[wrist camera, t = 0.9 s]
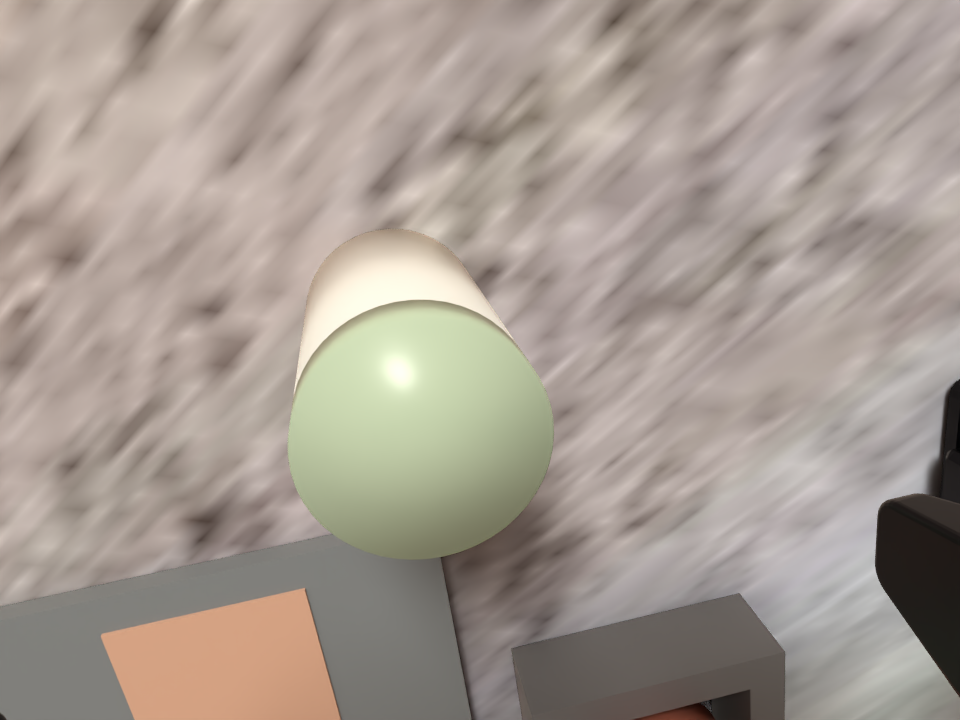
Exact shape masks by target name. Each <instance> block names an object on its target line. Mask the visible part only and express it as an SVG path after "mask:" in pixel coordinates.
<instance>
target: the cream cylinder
mask: <svg viewBox="0 0 960 720" xmlns="http://www.w3.org/2000/svg"><path fill="white" fill-rule="evenodd" d="M553 438H554V426H553V416H552V411H551V405H550V402H549V399H548V396H547V393H546V390H545V388H544V386H543V384H542V382H541V380H540V378H539V377H538V375H537V373H536V372H535V370H534V369H533V367H532V366H531V365H530V363H529V362H528V360H527V359H526V357H525V356H524V354H523V353H522V351H521V350H520V348H519V347H518V345H517V344H516V342H515V341H514V339H513V338H512V336H511V335H510V333H509V332H508V331H507V329H506V328H505V326H504V325H503V323H502V322H501V320H500V319H499V317H498V316H497V314H496V313H495V311H494V310H493V308H492V307H491V305H490V304H489V302H488V301H487V299H486V298H485V297H484V295H483V294H482V292H481V291H480V289H479V288H478V286H477V285H476V283H475V282H474V280H473V279H472V277H471V276H470V274H469V273H468V271H467V270H466V268H465V267H464V266H463V264H462V263H461V261H460V260H459V259H458V258H457V257H456V256H455V255H454V254H453V252H452V251H450V250H449V249H448V248H447V247H445V246H444V245H443V244H441V243H440V242H438V241H436V240H435V239H433V238H431V237H429V236H426V235H424V234H421V233H418V232H414V231H410V230H404V229H382V230H375V231H371V232H367V233H364V234H361V235H359V236H356V237H354V238H352V239H350V240H349V241H347V242H345V243H343V244H342V245H341V246H339V247H338V248H337V249H335V250H334V251H333V252H332V253H331V254H330V255H329V256H328V257H327V258H326V260H325V261H324V262H323V263H322V265H321V266H320V267H319V269H318V271H317V273H316V274H315V276H314V278H313V281H312V283H311V286H310V289H309V293H308V297H307V304H306V311H305V318H304V325H303V332H302V339H301V347H300V354H299V361H298V368H297V375H296V382H295V389H294V397H293V404H292V411H291V418H290V425H289V434H288V460H289V465H290V471H291V475H292V478H293V481H294V484H295V487H296V489H297V491H298V493H299V495H300V497H301V499H302V501H303V503H304V504H305V505H306V507H307V508H308V510H309V511H310V512H311V514H312V515H313V516H314V517H315V518H316V519H317V520H318V521H319V522H320V524H321V525H322V526H323V527H324V528H326V529H327V530H328V531H330V532H331V533H332V534H333V535H335V536H336V537H337V538H339V539H341V540H342V541H344V542H346V543H348V544H349V545H351V546H353V547H356V548H358V549H360V550H363V551H365V552H368V553H372V554H375V555H378V556H383V557H389V558H394V559H408V560H418V559H431V558H437V557H443V556H448V555H451V554H455V553H458V552H462V551H464V550H467V549H469V548H472V547H474V546H476V545H478V544H480V543H482V542H484V541H486V540H488V539H489V538H491V537H493V536H494V535H495V534H497V533H498V532H500V531H501V530H503V529H504V528H505V527H506V526H508V525H509V524H510V523H511V522H512V521H513V520H514V519H516V518H517V516H518V515H519V514H520V513H521V512H522V511H523V510H524V509H525V508H526V507H527V505H528V504H529V502H530V501H531V500H532V498H533V497H534V495H535V494H536V492H537V490H538V489H539V487H540V485H541V483H542V481H543V479H544V476H545V474H546V471H547V469H548V466H549V462H550V458H551V454H552V449H553Z"/></svg>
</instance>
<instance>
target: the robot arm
mask: <svg viewBox="0 0 960 720" xmlns="http://www.w3.org/2000/svg"><path fill="white" fill-rule="evenodd" d="M875 567H876V573H877V576H878V579H879V581H880V583H881V585H882V587H883V589H884V590H885V592H886V593H887V595H888V596H889V598H890V599H891V600H892V602H893V603H894V605H895V606H896V608H897V609H898V610H899V612H900V613H901V615H902V616H903V618H904V619H905V620H906V622H907V623H908V625H909V626H910V627H911V629H912V630H913V632H914V633H915V635H916V636H917V637H918V639H919V640H920V642H921V643H922V645H923V646H924V647H925V649H926V650H927V652H928V653H929V654H930V656H931V657H932V659H933V660H934V662H935V663H936V664H937V666H938V667H939V669H940V670H941V672H942V673H943V674H944V676H945V677H946V679H947V680H948V681H949V683H950V684H951V686H952V687H953V689H954V690H955V691H956V693H957V694H958V695H959V697H960V379H959V380H958V381H957V382H956V383H955V384H954V386H953V387H952V389H951V392H950V397H949V407H948V418H947V428H946V439H945V449H944V460H943V470H942V481H941V491H940V498H937V497H934V496H930V495H926V494H911V495H907V496H902V497H898V498H894V499H890V500H887V501H885V502H884V503H882V505H881V506H880V508H879V510H878V518H877V536H876V555H875ZM0 720H7V719H6V718H5V716H4V715H3V714H1V713H0Z"/></svg>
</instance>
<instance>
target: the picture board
mask: <svg viewBox="0 0 960 720" xmlns="http://www.w3.org/2000/svg"><path fill="white" fill-rule="evenodd" d="M0 713H1V714H3V715H4V716H5V718H6V719H7V720H472V719H471V714H470V709H469V703H468V698H467V693H466V688H465V683H464V677H463V672H462V667H461V662H460V656H459V651H458V646H457V641H456V636H455V630H454V625H453V620H452V615H451V610H450V604H449V599H448V594H447V589H446V584H445V578H444V573H443V568H442V563H441V558H440V557H437V558H431V559H418V560H408V559H394V558H389V557H383V556H378V555H375V554H372V553H368V552H365V551H363V550H360V549H358V548H356V547H353V546H351V545H349V544H348V543H346V542H344V541H342V540H341V539H339V538H337V537H336V536H335V535H333V534H331V535H326V536H322V537H317V538H313V539H308V540H303V541H299V542H294V543H290V544H285V545H281V546H276V547H271V548H267V549H262V550H258V551H253V552H249V553H244V554H239V555H235V556H230V557H226V558H221V559H217V560H212V561H207V562H203V563H198V564H194V565H189V566H185V567H180V568H175V569H171V570H166V571H162V572H157V573H153V574H148V575H143V576H139V577H134V578H130V579H125V580H121V581H116V582H111V583H107V584H102V585H98V586H93V587H89V588H84V589H79V590H75V591H70V592H66V593H61V594H57V595H52V596H47V597H43V598H38V599H34V600H29V601H25V602H20V603H15V604H11V605H6V606H2V607H0Z"/></svg>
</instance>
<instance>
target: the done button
mask: <svg viewBox="0 0 960 720" xmlns="http://www.w3.org/2000/svg"><path fill="white" fill-rule="evenodd" d="M633 720H715V718H714V716H713V715H712V713H711V712H710V711H709V710H708V709H707V708H706V707H705V706H704V705H702V704H701V703H695V704H692V705H688V706H684V707H680V708H676V709H672V710H668V711H664V712H661V713H657V714H653V715H649V716H645V717H641V718H637V719H633Z"/></svg>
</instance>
